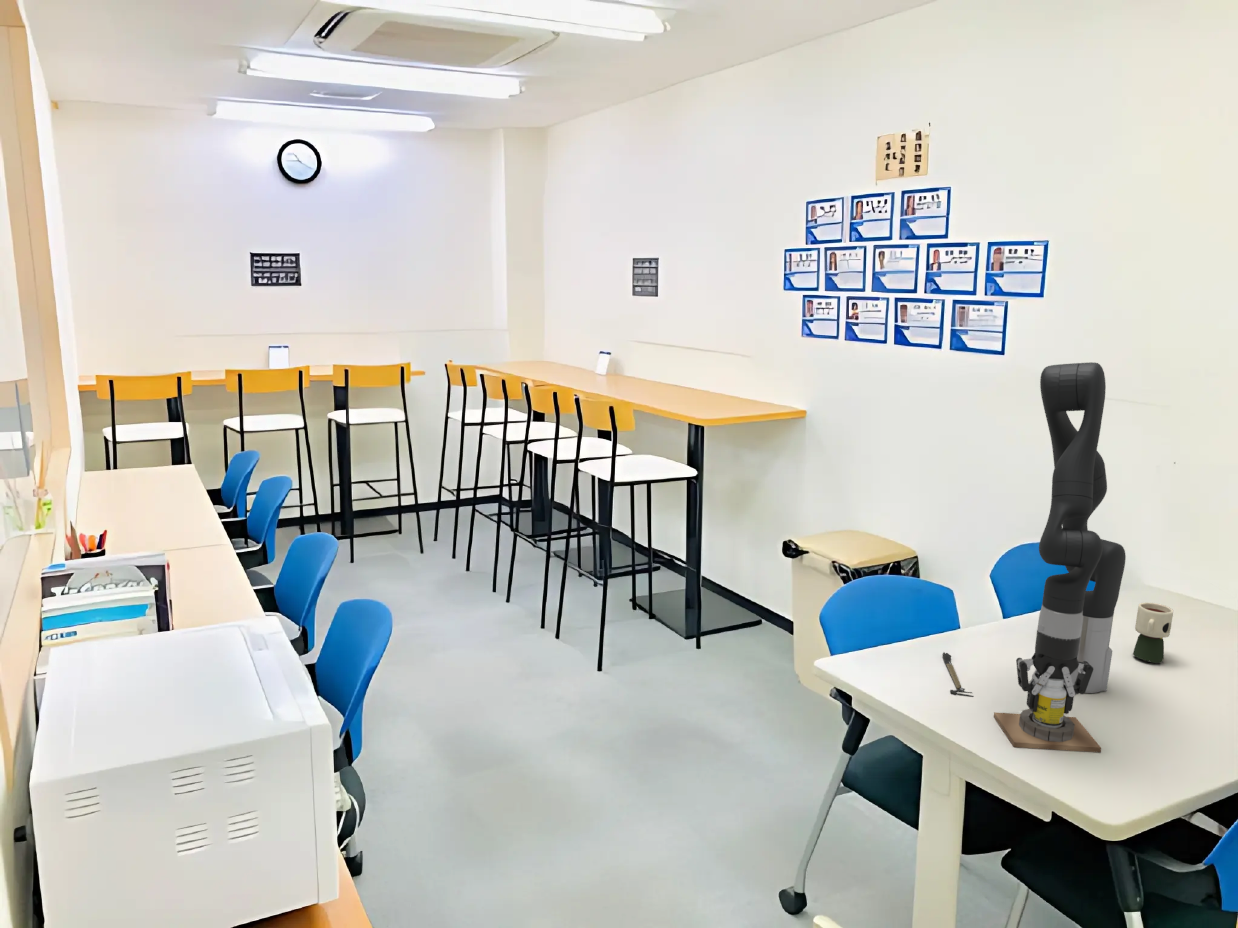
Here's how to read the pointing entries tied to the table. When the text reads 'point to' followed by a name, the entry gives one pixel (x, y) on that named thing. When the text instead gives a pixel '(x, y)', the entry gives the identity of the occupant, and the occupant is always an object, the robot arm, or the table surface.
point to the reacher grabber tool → (954, 676)
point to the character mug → (1152, 631)
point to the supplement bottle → (1050, 704)
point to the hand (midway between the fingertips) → (1048, 710)
